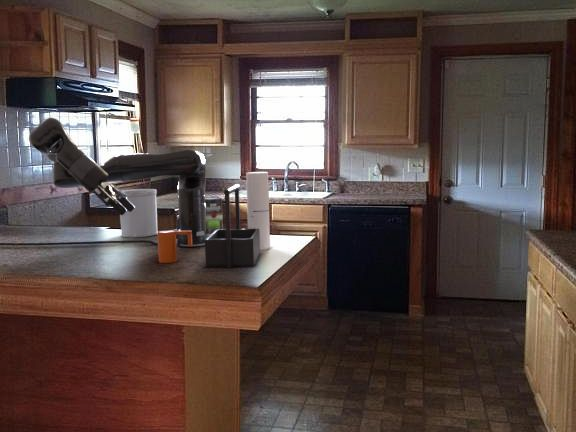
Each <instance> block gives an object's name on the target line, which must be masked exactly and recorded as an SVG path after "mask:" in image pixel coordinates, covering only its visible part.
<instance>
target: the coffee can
mask: <svg viewBox="0 0 576 432" xmlns="http://www.w3.org/2000/svg"><path fill="white" fill-rule="evenodd" d="M205 207H206V234H207V237H208V236H209V235H211V234H212V233H213V232H214V231H215V230H216V229H224V226H223V224H224V223H223V197H220V196H205Z"/></svg>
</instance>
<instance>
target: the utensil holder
mask: <svg viewBox="0 0 576 432" xmlns="http://www.w3.org/2000/svg"><path fill="white" fill-rule="evenodd" d="M121 191H122V192H123V193H124V194H126V196H127V197H126V198H127V200H128V201H129V202H130V203H132V204H133V205H134V206H135V208H134V209H133V210H132V211H131V212H129V211H128V210H127V211H126V212H125V214H124V215H120V214H119V219H120V220H119V223H120V230H121V231H120V232H121V236H122V237H123V238H146V237H151V236H156V235H157V232H158V211H157V210H158V209H157V193H158V191H157V189H156V188H134V189H132V188H131V189H124V190H123V189H121ZM120 197H121V196H120Z"/></svg>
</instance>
